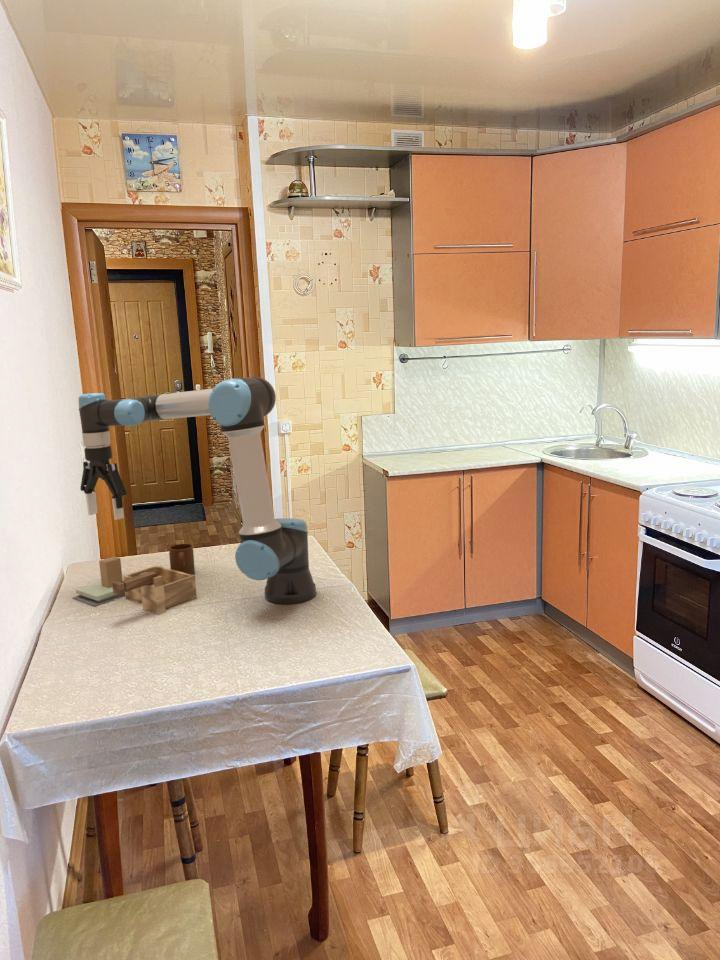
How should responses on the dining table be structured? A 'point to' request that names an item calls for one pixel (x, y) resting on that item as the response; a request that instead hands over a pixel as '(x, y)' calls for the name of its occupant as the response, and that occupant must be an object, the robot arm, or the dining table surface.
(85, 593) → the lid
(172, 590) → the toolbox
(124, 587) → the bar
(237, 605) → the dining table surface
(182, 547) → the mug
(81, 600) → the mat
